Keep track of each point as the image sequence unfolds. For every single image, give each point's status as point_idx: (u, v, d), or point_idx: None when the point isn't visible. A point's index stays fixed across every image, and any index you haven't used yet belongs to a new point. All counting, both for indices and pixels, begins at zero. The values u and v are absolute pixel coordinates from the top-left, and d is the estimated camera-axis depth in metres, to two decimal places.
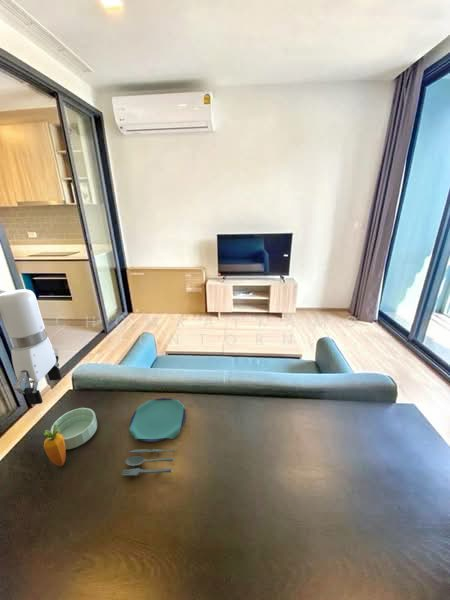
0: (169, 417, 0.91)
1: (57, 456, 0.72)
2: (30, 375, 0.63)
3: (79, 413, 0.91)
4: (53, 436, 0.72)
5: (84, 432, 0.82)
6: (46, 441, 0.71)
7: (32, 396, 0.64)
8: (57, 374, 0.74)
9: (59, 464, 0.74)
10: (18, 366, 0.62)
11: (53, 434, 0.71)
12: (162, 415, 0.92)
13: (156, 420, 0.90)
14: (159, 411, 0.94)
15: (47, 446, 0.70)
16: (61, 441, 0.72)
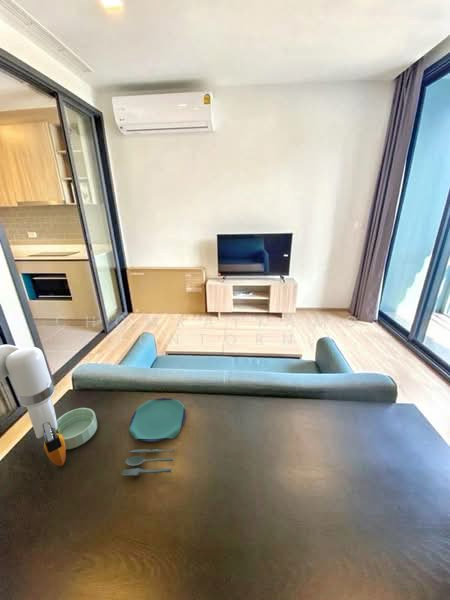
0: (169, 417, 0.91)
1: (57, 456, 0.72)
2: (51, 425, 0.66)
3: (79, 413, 0.91)
4: None
5: (84, 432, 0.82)
6: None
7: (55, 442, 0.69)
8: (55, 429, 0.74)
9: (59, 464, 0.74)
10: (39, 421, 0.64)
11: (53, 434, 0.71)
12: (162, 415, 0.92)
13: (156, 420, 0.90)
14: (159, 411, 0.94)
15: None
16: (61, 441, 0.72)
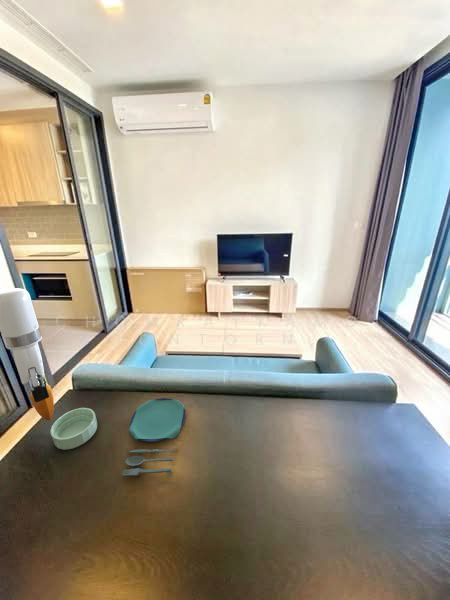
0: (169, 417, 0.91)
1: (45, 408, 0.70)
2: (38, 371, 0.64)
3: (79, 413, 0.91)
4: None
5: (84, 432, 0.82)
6: None
7: (41, 391, 0.67)
8: None
9: (47, 417, 0.72)
10: (25, 364, 0.61)
11: None
12: (162, 415, 0.92)
13: (156, 420, 0.90)
14: (159, 411, 0.94)
15: None
16: (49, 392, 0.70)
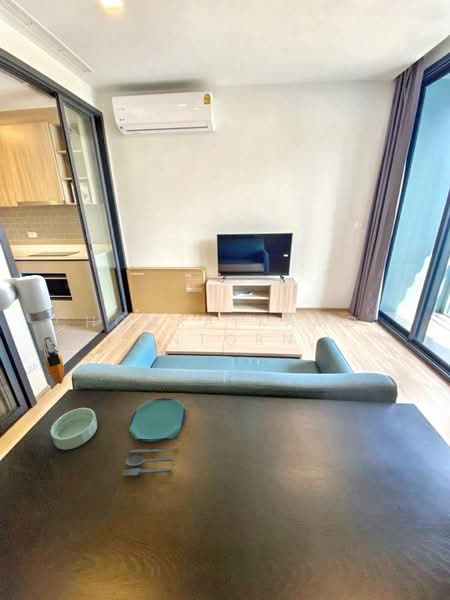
0: (169, 417, 0.91)
1: (57, 373, 0.87)
2: (52, 340, 0.81)
3: (79, 413, 0.91)
4: None
5: (84, 432, 0.82)
6: None
7: (55, 358, 0.84)
8: None
9: (58, 381, 0.89)
10: (42, 335, 0.79)
11: None
12: (162, 415, 0.92)
13: (156, 420, 0.90)
14: (159, 411, 0.94)
15: None
16: (60, 360, 0.87)
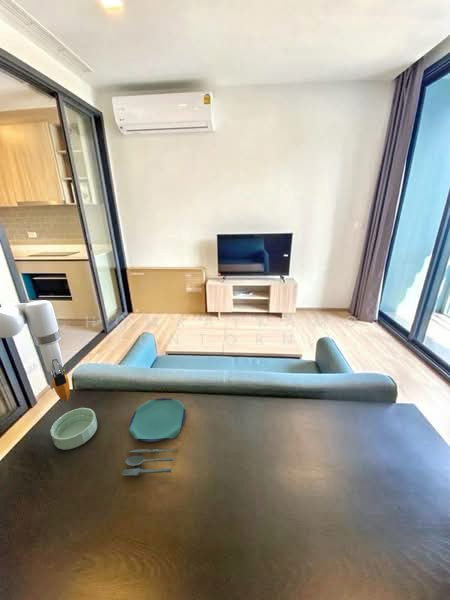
0: (169, 417, 0.91)
1: (63, 391, 0.91)
2: (59, 362, 0.84)
3: (79, 413, 0.91)
4: None
5: (84, 432, 0.82)
6: None
7: (61, 378, 0.87)
8: None
9: (64, 399, 0.93)
10: (49, 357, 0.82)
11: None
12: (162, 415, 0.92)
13: (156, 420, 0.90)
14: (159, 411, 0.94)
15: None
16: (66, 379, 0.91)
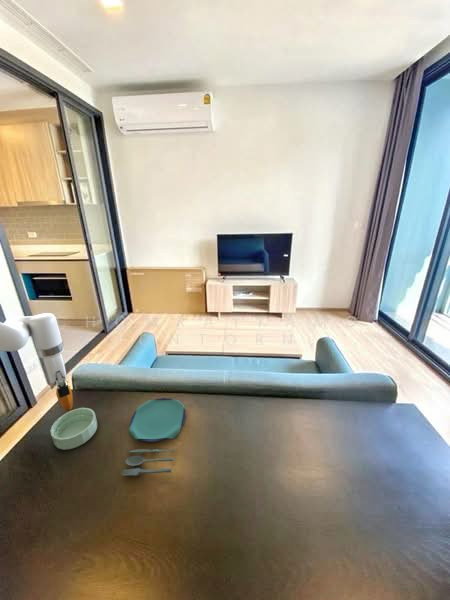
0: (169, 417, 0.91)
1: (67, 402, 0.92)
2: (62, 373, 0.86)
3: (79, 413, 0.91)
4: None
5: (84, 432, 0.82)
6: None
7: (64, 389, 0.87)
8: (62, 376, 0.95)
9: (68, 409, 0.94)
10: (53, 369, 0.84)
11: None
12: (162, 415, 0.92)
13: (156, 420, 0.90)
14: (159, 411, 0.94)
15: None
16: (69, 390, 0.93)
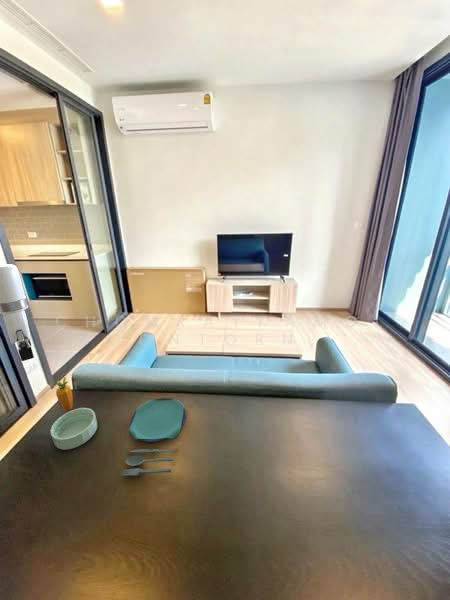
0: (169, 417, 0.91)
1: (67, 402, 0.92)
2: (24, 333, 0.77)
3: (79, 413, 0.91)
4: (63, 386, 0.92)
5: (84, 432, 0.82)
6: (58, 389, 0.91)
7: (27, 351, 0.78)
8: (28, 341, 0.86)
9: (68, 409, 0.94)
10: (13, 326, 0.75)
11: (63, 384, 0.92)
12: (162, 415, 0.92)
13: (156, 420, 0.90)
14: (159, 411, 0.94)
15: (59, 393, 0.90)
16: (69, 390, 0.93)
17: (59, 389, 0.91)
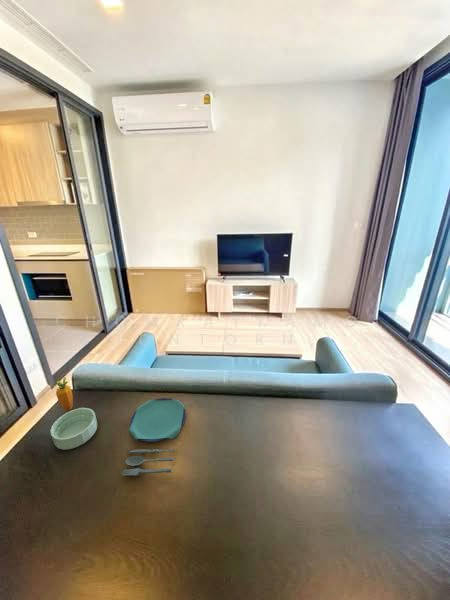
0: (169, 417, 0.91)
1: (67, 402, 0.92)
2: None
3: (79, 413, 0.91)
4: (63, 386, 0.92)
5: (84, 432, 0.82)
6: (58, 389, 0.91)
7: None
8: None
9: (68, 409, 0.94)
10: None
11: (63, 384, 0.92)
12: (162, 415, 0.92)
13: (156, 420, 0.90)
14: (159, 411, 0.94)
15: (59, 393, 0.90)
16: (69, 390, 0.93)
17: (59, 389, 0.91)
